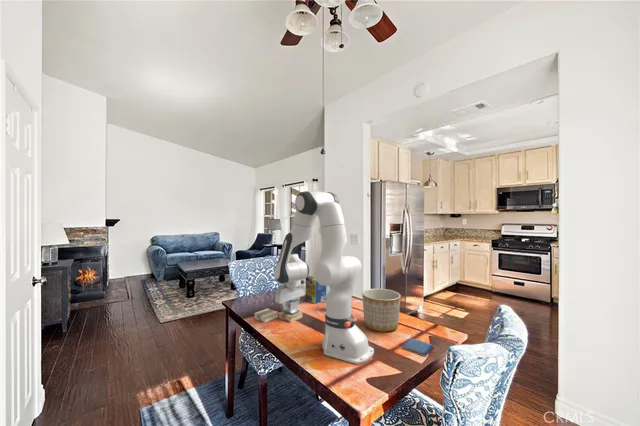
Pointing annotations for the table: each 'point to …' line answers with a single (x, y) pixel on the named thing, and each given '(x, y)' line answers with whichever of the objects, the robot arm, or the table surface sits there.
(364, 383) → the table surface
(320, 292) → the protein box
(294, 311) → the housing
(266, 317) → the stand
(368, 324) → the planter
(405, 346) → the blue sponge
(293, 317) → the stand
